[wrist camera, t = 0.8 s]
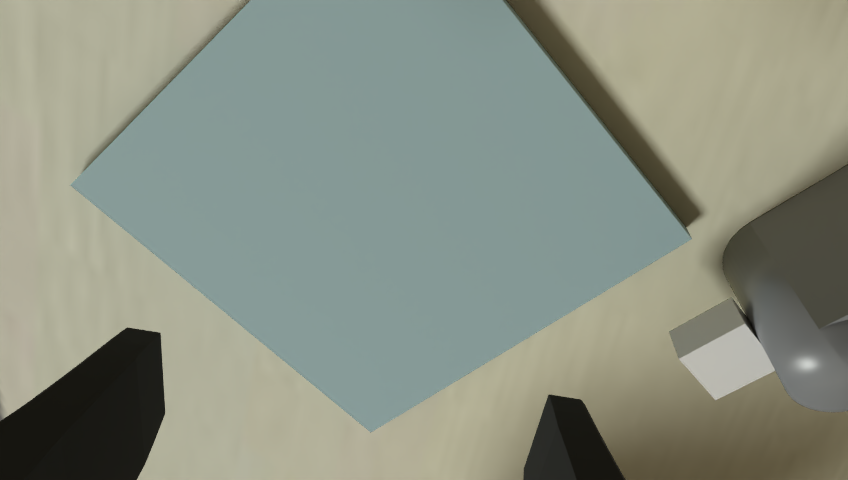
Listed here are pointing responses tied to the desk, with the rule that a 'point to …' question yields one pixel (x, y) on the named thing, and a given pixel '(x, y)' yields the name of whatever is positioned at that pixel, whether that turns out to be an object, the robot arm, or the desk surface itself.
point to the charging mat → (382, 190)
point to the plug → (781, 304)
